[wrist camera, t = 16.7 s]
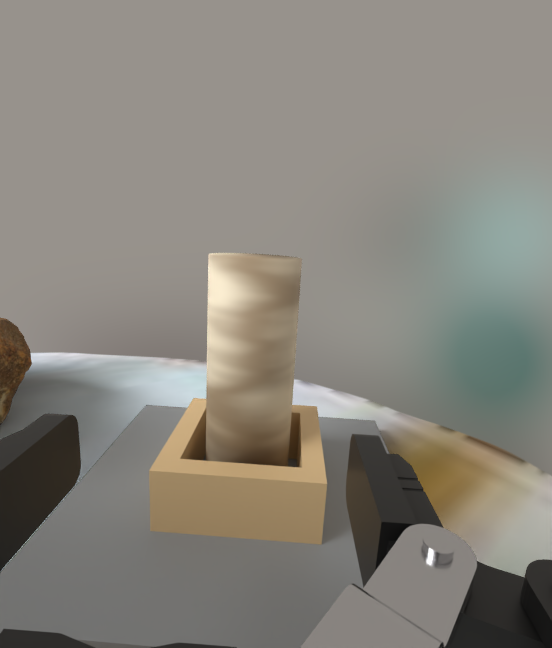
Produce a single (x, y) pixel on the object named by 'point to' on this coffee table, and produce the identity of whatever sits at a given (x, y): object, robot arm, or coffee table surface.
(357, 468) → the robot arm
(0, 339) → the rough brown rock
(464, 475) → the coffee table surface
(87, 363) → the coffee table surface
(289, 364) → the wooden peg
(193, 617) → the collar board
